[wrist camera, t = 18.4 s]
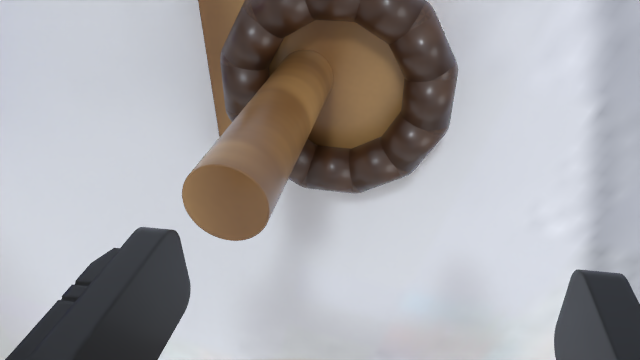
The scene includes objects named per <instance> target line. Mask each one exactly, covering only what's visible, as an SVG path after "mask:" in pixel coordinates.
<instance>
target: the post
mask: <svg viewBox="0 0 640 360" xmlns="http://www.w3.org/2000/svg"><path fill="white" fill-rule="evenodd" d="M244 1H245V0H198V2H199V9H200V15H201V21H202V28H203V34H204V40H205V47H206V53H207V60H208V66H209V72H210V79H211V85H212V91H213V98H214V104H215V111H216V117H217V123H218V130H219V136H220V138H219V139H218V140H217V141H216V142H215V144H214V145H213V146H212V147H211V149H210V150H209V151H208V152H207V153H206V155H205V156H204V157H203V158H202V159H201V161H200V162H199V163H198V164H197V166H196V167H195V168H194V169H193V170H192V172H191V173H190V174H189V175H188V176H187V178H186V180H185V182H184V185H183V189H182V198H183V203H184V206H185V209H186V211H187V213H188V214H189V216H190V217H191V219H192V220H193V221H194V222H195V223H196V224H197V225H198V226H199V227H200V228H202V229H203V230H204V231H206V232H207V233H209V234H211V235H213V236H215V237H218V238H221V239H225V240H233V241H238V240H246V239H249V238H252V237H254V236H256V235H257V234H259V233H260V232H261V231H262V230H263V229H264V228H265V226H266V224H267V222H268V220H269V218H270V216H271V214H272V212H273V210H274V208H275V206H276V204H277V201H278V199H279V197H280V195H281V193H282V191H283V189H284V187H285V185H286V183H287V181H288V178H289V176H290V174H291V172H292V170H293V168H294V166H295V164H296V162H297V160H298V157H299V155H300V153H301V151H302V149H303V147H304V145H305V143H306V141H307V139H308V140H310V141H312V142H313V143H315V144H316V145H319V146H329V147H340V148H350V149H352V148H354V147H357V146H359V145H362V144H364V143H366V142H369V141H371V140H374V139H376V138H379V137H381V136H382V135H383V134H384V133H385V131H386V130H387V129H388V127H389V126H390V125H391V124H392V122H393V121H394V120H395V118H396V117H397V116H398V114H399V113H400V112H401V108H402V98H403V88H404V78H405V77H404V75H403V73H402V71H401V69H400V67H399V65H398V63H397V61H396V59H395V57H394V55H393V53H392V51H391V49H390V46H389V44H387V43H386V42H384V41H383V40H381V39H380V38H378V37H377V36H375V35H374V34H372V33H371V32H369V31H368V30H366V29H365V28H363V27H362V26H360V25H359V24H357V23H356V22H347V21H328V20H315V21H313V22H311V23H309V24H308V25H306V26H304V27H302V28H300V29H298V30H297V31H295V32H293V33H291V34H289V35H288V36H286V37H285V38H284V39H283V41H282V43H281V45H280V47H279V49H278V51H277V52H276V54H275V56H274V58H273V60H272V62H271V63H270V65H269V72H270V77H269V78H268V79H267V81H266V82H265V83H264V84H263V86H262V87H261V88H260V89H259V90H258V92H257V93H256V94H255V95H254V96H253V98H252V99H251V100H250V101H249V103H248V104H247V105H246V106H245V107H244V109H243V110H242V111H241V112H240V113H239V115H238V116H237V117H236V118H235V119H234V121H233V122H231V120H230V119H229V117H228V115H227V113H226V109H225V102H224V92H223V83H222V73H221V64H220V54H221V50H222V48H223V46H224V43H225V41H226V39H227V37H228V35H229V33H230V31H231V28H232V26H233V24H234V22H235V20H236V18H237V16H238V13H239V11H240V9H241V7H242V5H243V3H244Z"/></svg>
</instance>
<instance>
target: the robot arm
mask: <svg viewBox="0 0 640 360" xmlns="http://www.w3.org/2000/svg"><path fill="white" fill-rule="evenodd" d="M189 298H190V280H189V276H188V271H187V267H186V263H185V258H184V254H183V250H182V245H181V241H180V237H179V235H178V233H177V232H176V231H175V230H168V229H158V228H147V227H140V228H138V229H137V230H135V231H134V233H133V234H132V235H131V236H130V237H129V238H128V240H127V241H126V242H125V243H124V244H123V246H122V247H121V248H113V249H112V250H110V251H109V252H107V253H106V254H104V255H103V256H101V257H100V258H98V259H97V260H95V261H94V262H92V263H91V264H90V265H89V266H88V267H87V269H86V270H85V271H84V272H83V273H82V274H81V275H80V276H79V278H78V279H77V280H76V283H75V285H71V287H70V288H69V289H68V290H67V291H66V292H65V293H64V294H63V296H62V299H61V300H58V301H57V302H56V303H55V305H54V306H53V307H52V308H51V309H50V310H49V311H48V312H47V313H46V315H45V316H44V317H43V318H42V319H41V320H40V321H39V322H38V324H37V325H36V326H35V327H34V328H33V329H32V330H31V331H30V333H29V334H28V335H27V336H26V337H25V338H24V339H23V340H22V342H21V343H20V344H19V345H18V346H17V347H16V348H15V349H14V351H13V352H12V353H11V354H10V355H9V356H8V357H7V358H6V359H5V360H158V358H159V356H160V354H161V353H162V351H163V349H164V347H165V346H166V344H167V342H168V340H169V339H170V337H171V335H172V333H173V331H174V330H175V328H176V326H177V324H178V323H179V321H180V319H181V317H182V316H183V314H184V312H185V310H186V308H187V305H188V302H189ZM554 348H555V356H556V360H640V304H639V302H638V300H637V298H636V296H635V294H634V292H633V290H632V288H631V286H630V284H629V282H628V280H627V279H626V277H625V276H624V275H622V274H620V273H609V272H599V271H588V270H575V271H574V273H573V274H572V276H571V279H570V282H569V286H568V289H567V292H566V295H565V298H564V302H563V305H562V308H561V311H560V314H559V317H558V321H557V324H556V328H555V335H554Z"/></svg>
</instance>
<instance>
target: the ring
mask: <svg viewBox="0 0 640 360" xmlns="http://www.w3.org/2000/svg"><path fill="white" fill-rule="evenodd" d="M315 20H328V21H347V22H356V23H357V24H359V25H360V26H362V27H363V28H365V29H366V30H368V31H369V32H371V33H372V34H374V35H375V36H377V37H378V38H380V39H381V40H383V41H384V42H386V43H387V44H389V46H390V49H391V51H392V53H393V55H394V57H395V59H396V61H397V63H398V65H399V67H400V69H401V71H402V73H403V75H404V77H405V78H404V88H403V98H402V108H401V112H400V113H399V114H398V116H397V117H396V118H395V120H394V121H393V122H392V124H391V125H390V126H389V127H388V129H387V130H386V131H385V133H384V134H383V135H382V136H381V137H379V138H376V139H374V140H371V141H369V142H366V143H364V144H362V145H359V146H357V147H354V148H352V149H350V148H340V147H329V146H319V145H316V144H315V143H313V142H312V141H310V140H308V139H307V141H306V143H305V145H304V147H303V149H302V151H301V153H300V155H299V157H298V160H297V162H296V164H295V166H294V168H293V170H292V172H291V174H290V176H289V178H288V179H290V180H291V181H293V182H295V183H296V184H298V185H300V186H302V187H304V188H309V189H319V190H328V191H337V192H346V193H361V192H364V191H367V190H369V189H372V188H375V187H378V186H380V185H383V184H386V183H388V182H391V181H394V180H397V179H399V178H402V177H405V176H407V175H409V174H410V173H411V172H413V171H414V169H415V168H416V167H417V166H418V165H419V164H420V162H421V161H422V160H423V159H424V158H425V157H426V156H427V154H428V153H429V152H430V151H431V150H432V149H433V147H434V146H435V145H436V144H437V143H438V142H439V140H440V139H441V138H442V137H443V136H444V134H445V133H446V132H447V130H448V127H449V124H450V118H451V112H452V106H453V99H454V93H455V87H456V81H457V74H458V67H457V63H456V60H455V58H454V55H453V53H452V51H451V48H450V46H449V44H448V41H447V39H446V37H445V34H444V32H443V30H442V27H441V25H440V23H439V20H438V18H437V16H436V13H435V11H434V9H433V8H432V6H431V5H430V4H429V3H428V2H427V1H426V0H245V1H244V3H243V5H242V7H241V9H240V11H239V13H238V16H237V18H236V20H235V22H234V24H233V26H232V28H231V31H230V33H229V35H228V37H227V39H226V41H225V43H224V46H223V48H222V50H221V54H220V64H221V73H222V83H223V92H224V102H225V109H226V113H227V115H228V117H229V119H230V120H231V122H233V121H234V119H235V118H236V117H237V116H238V115H239V113H240V112H241V111H242V110H243V109H244V107H245V106H246V105H247V104H248V103H249V101H250V100H251V99H252V98H253V96H254V95H255V94H256V93H257V92H258V90H259V89H260V88H261V87H262V86H263V84H264V83H265V82H266V81H267V79H268V78H269V77H270V72H269V65H270V63H271V62H272V60H273V58H274V56H275V54H276V52H277V51H278V49H279V47H280V45H281V43H282V41H283V39H284V38H285V37H286V36H288V35H289V34H291V33H293V32H295V31H297V30H298V29H300V28H302V27H304V26H306V25H308V24H309V23H311V22H313V21H315Z"/></svg>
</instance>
